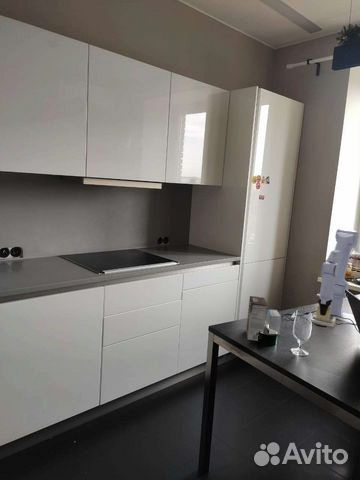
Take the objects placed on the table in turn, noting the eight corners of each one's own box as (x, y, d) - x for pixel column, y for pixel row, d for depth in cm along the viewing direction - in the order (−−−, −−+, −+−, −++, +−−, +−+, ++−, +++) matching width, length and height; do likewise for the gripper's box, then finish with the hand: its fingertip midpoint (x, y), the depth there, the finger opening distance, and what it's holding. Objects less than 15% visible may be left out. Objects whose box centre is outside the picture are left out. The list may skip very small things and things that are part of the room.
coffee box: (245, 330, 157) (249, 295, 154) (260, 332, 157) (264, 297, 154) (247, 339, 148) (251, 302, 145) (262, 341, 148) (267, 304, 145)
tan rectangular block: (316, 315, 176) (318, 303, 175) (329, 318, 173) (331, 306, 172) (315, 317, 173) (317, 305, 172) (328, 320, 171) (330, 308, 169)
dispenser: (312, 317, 179) (313, 311, 178) (335, 322, 174) (336, 317, 173) (309, 321, 173) (310, 315, 173) (333, 327, 168) (334, 321, 167)
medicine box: (279, 335, 155) (281, 316, 153) (269, 334, 155) (271, 315, 153) (274, 327, 162) (277, 309, 161) (265, 327, 163) (267, 309, 161)
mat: (294, 312, 184) (294, 311, 184) (312, 316, 180) (313, 316, 180) (290, 317, 176) (290, 317, 176) (309, 322, 172) (309, 321, 172)
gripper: (320, 282, 179) (317, 307, 181) (315, 289, 166) (311, 316, 169) (336, 285, 175) (332, 311, 178) (332, 292, 163) (327, 320, 165)
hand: (323, 314), depth 173 cm, fingers closed on tan rectangular block, 3 cm apart
